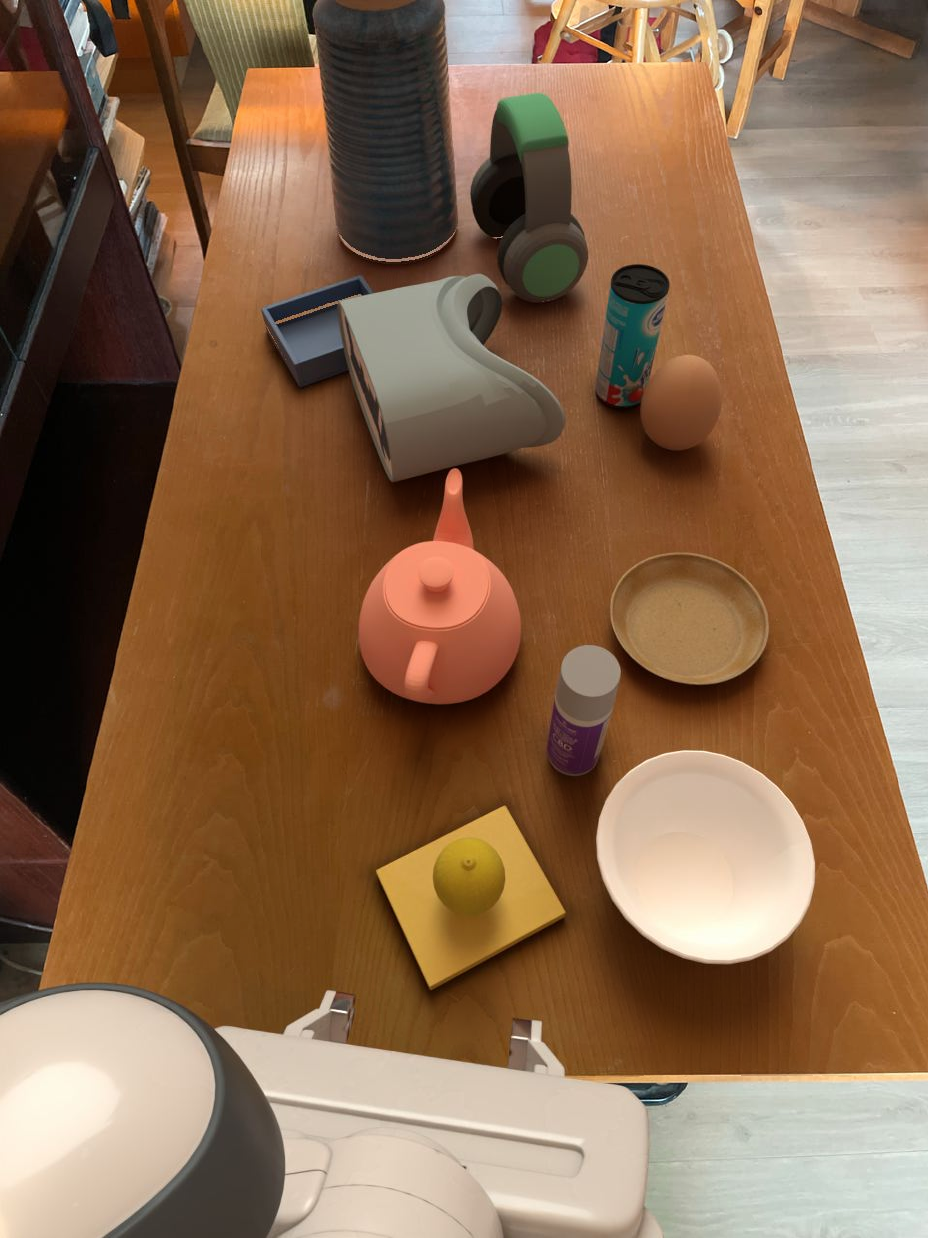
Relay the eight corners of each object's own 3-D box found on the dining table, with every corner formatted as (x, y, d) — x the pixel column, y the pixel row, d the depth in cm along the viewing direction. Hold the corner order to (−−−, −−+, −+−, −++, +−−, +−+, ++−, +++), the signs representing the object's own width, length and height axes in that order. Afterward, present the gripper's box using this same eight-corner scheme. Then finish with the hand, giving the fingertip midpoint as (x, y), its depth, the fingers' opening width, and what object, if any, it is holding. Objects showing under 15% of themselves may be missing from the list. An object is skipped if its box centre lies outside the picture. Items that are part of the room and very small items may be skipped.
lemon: (423, 876, 71) (417, 845, 64) (483, 845, 72) (484, 811, 65) (454, 939, 68) (451, 914, 61) (516, 906, 69) (520, 877, 63)
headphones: (465, 228, 119) (463, 71, 102) (542, 214, 120) (553, 57, 103) (505, 317, 109) (511, 160, 92) (589, 301, 110) (609, 143, 94)
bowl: (572, 796, 76) (582, 756, 69) (754, 783, 76) (783, 742, 69) (600, 993, 67) (615, 972, 60) (805, 977, 68) (844, 954, 60)
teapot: (388, 538, 91) (377, 456, 81) (533, 555, 90) (540, 474, 79) (340, 729, 79) (319, 663, 69) (505, 753, 78) (509, 688, 68)
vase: (331, 202, 122) (290, -68, 96) (446, 188, 124) (438, -82, 97) (344, 275, 114) (303, 1, 87) (468, 259, 115) (465, -15, 88)
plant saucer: (581, 593, 87) (584, 578, 85) (712, 549, 90) (718, 533, 87) (650, 719, 80) (655, 706, 77) (791, 667, 82) (800, 653, 80)
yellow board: (430, 991, 68) (429, 987, 66) (377, 875, 72) (375, 870, 71) (564, 917, 70) (566, 912, 69) (504, 811, 75) (505, 804, 74)
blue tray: (299, 387, 103) (294, 364, 100) (266, 331, 108) (260, 307, 105) (401, 351, 106) (399, 327, 103) (364, 298, 111) (361, 274, 108)
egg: (718, 426, 99) (743, 347, 89) (696, 477, 95) (721, 400, 85) (647, 405, 101) (665, 325, 91) (623, 454, 97) (639, 376, 87)
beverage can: (628, 418, 100) (650, 308, 87) (584, 396, 101) (599, 286, 89) (655, 389, 102) (680, 278, 89) (612, 368, 104) (630, 256, 91)
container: (540, 768, 77) (552, 689, 65) (553, 721, 80) (567, 636, 67) (592, 782, 76) (615, 705, 64) (604, 735, 79) (628, 652, 66)
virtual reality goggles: (346, 371, 104) (331, 278, 93) (497, 335, 107) (499, 241, 96) (397, 507, 93) (386, 420, 82) (563, 463, 96) (574, 373, 85)
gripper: (688, 1253, 29) (648, 991, 43) (103, 1155, 31) (241, 934, 44) (663, 1398, 31) (631, 1101, 44) (104, 1297, 32) (238, 1041, 46)
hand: (432, 1016), depth 44 cm, fingers open, 8 cm apart
